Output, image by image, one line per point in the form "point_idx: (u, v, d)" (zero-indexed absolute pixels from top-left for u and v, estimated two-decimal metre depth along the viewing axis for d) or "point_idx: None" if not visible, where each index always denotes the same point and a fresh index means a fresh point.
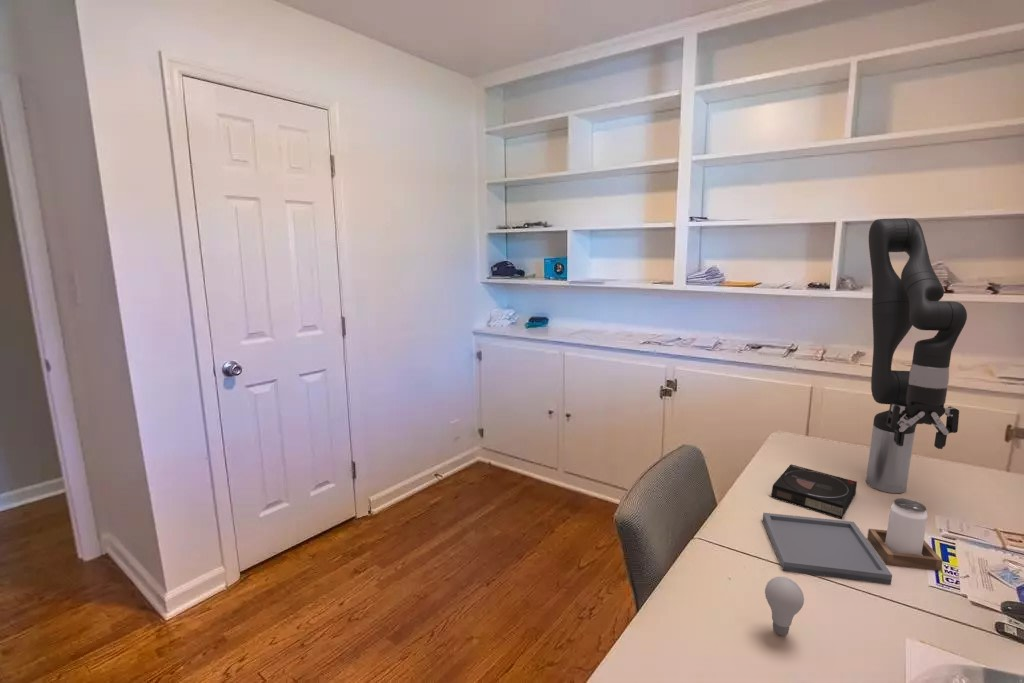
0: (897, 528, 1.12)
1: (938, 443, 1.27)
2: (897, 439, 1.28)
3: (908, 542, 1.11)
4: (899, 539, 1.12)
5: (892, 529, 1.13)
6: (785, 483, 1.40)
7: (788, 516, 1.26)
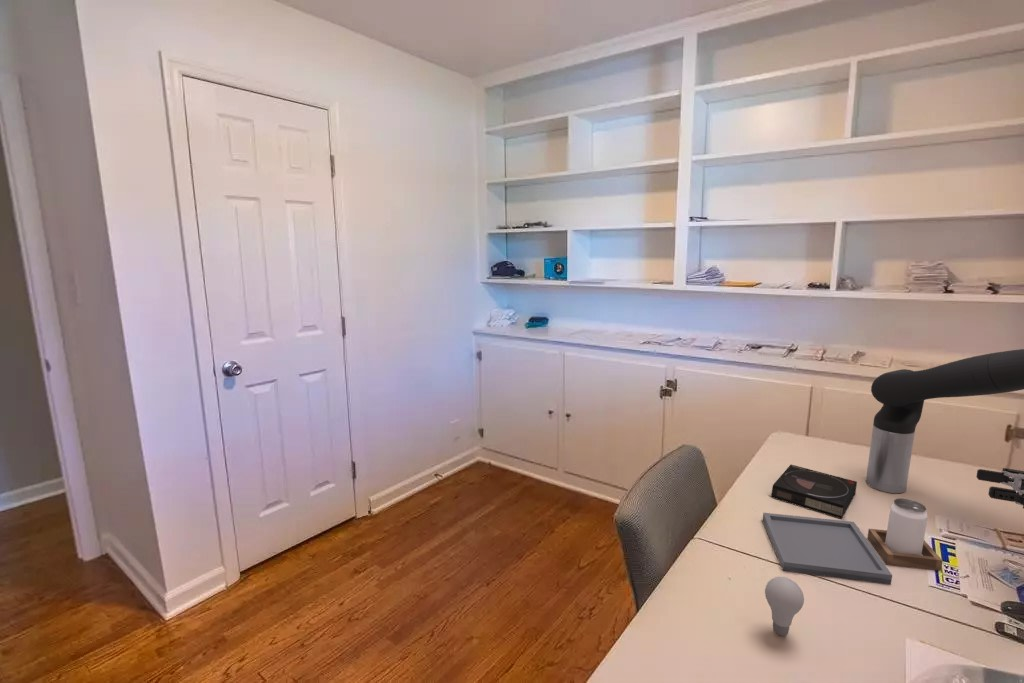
0: (897, 528, 1.12)
1: (985, 478, 1.08)
2: None
3: (908, 542, 1.11)
4: (899, 539, 1.12)
5: (892, 529, 1.13)
6: (785, 483, 1.40)
7: (788, 516, 1.26)
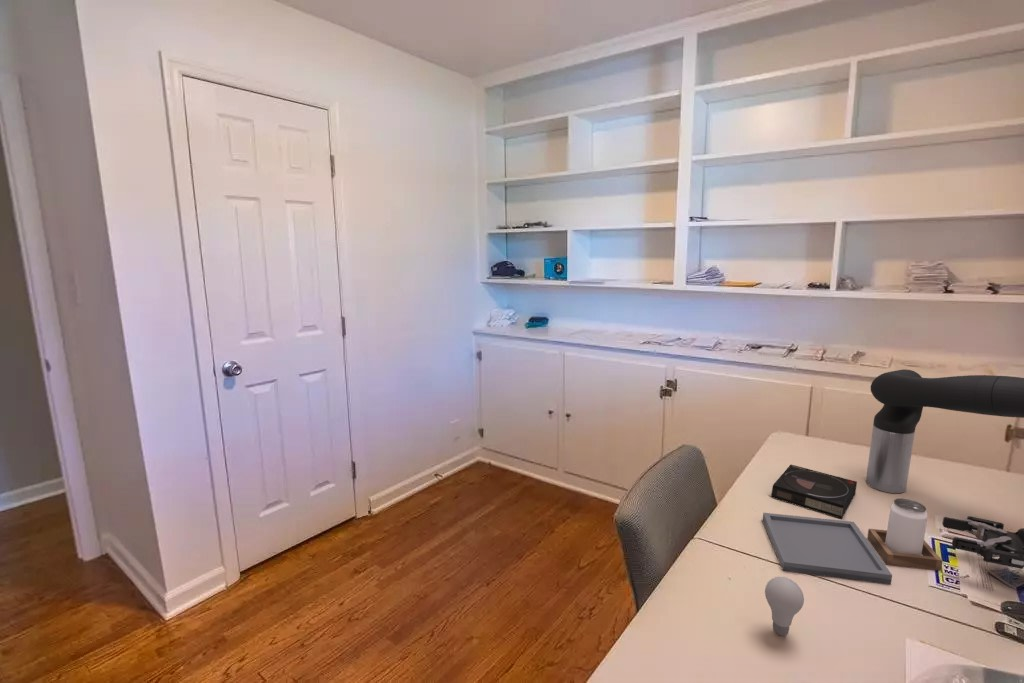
0: (897, 528, 1.12)
1: (950, 525, 1.13)
2: None
3: (908, 542, 1.11)
4: (899, 539, 1.12)
5: (892, 529, 1.13)
6: (785, 483, 1.40)
7: (788, 516, 1.26)
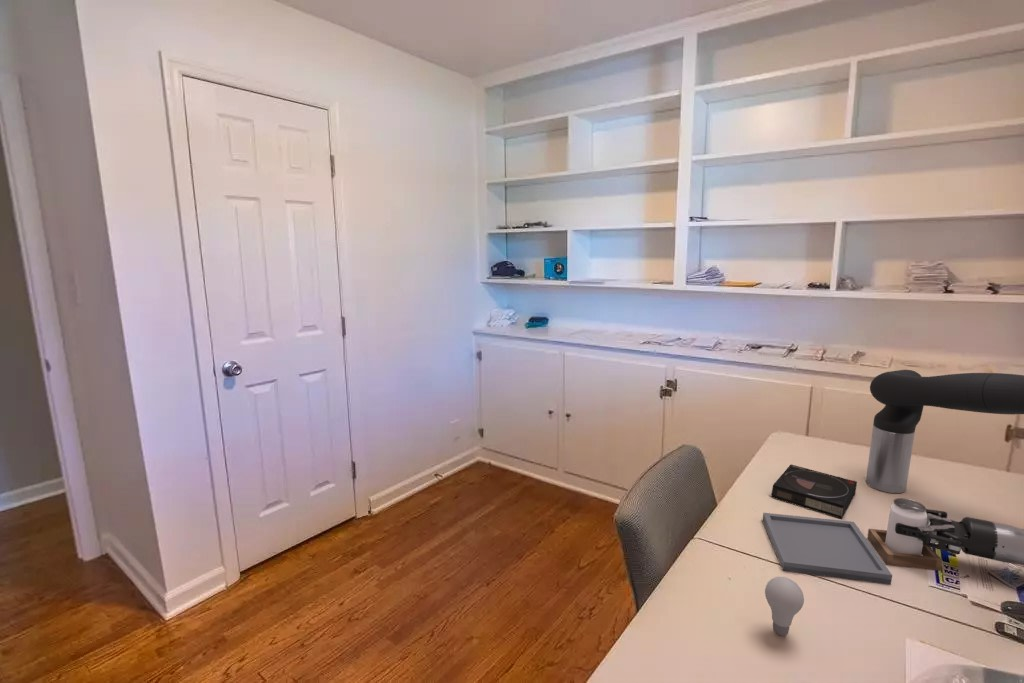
0: None
1: None
2: None
3: (908, 542, 1.11)
4: (899, 539, 1.12)
5: (892, 529, 1.13)
6: (785, 483, 1.40)
7: (788, 516, 1.26)
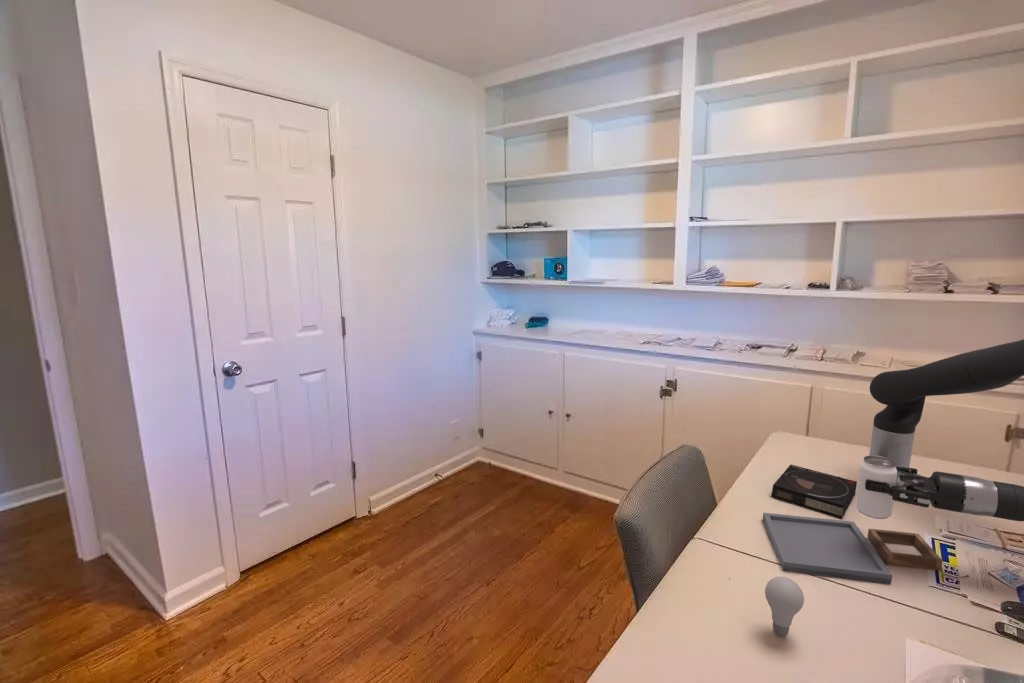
0: None
1: None
2: None
3: (878, 499, 1.09)
4: (869, 496, 1.10)
5: (862, 486, 1.12)
6: (785, 483, 1.40)
7: (788, 516, 1.26)
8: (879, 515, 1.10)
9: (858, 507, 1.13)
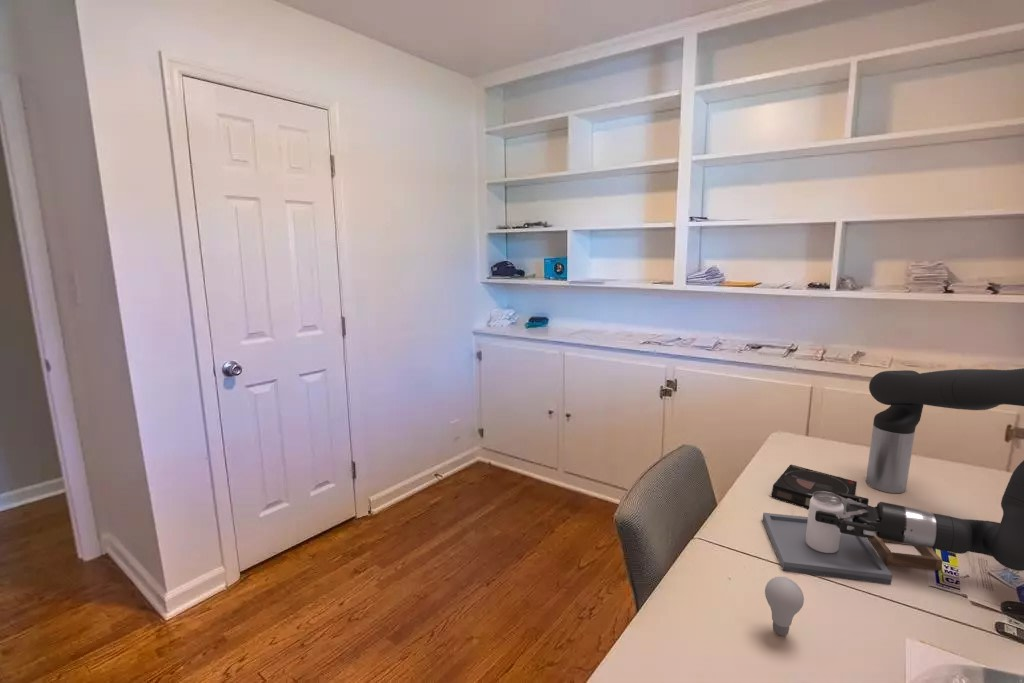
0: (814, 520, 1.14)
1: None
2: None
3: (824, 534, 1.12)
4: (816, 531, 1.13)
5: (810, 521, 1.15)
6: (785, 483, 1.40)
7: (788, 516, 1.26)
8: (825, 550, 1.13)
9: (807, 541, 1.16)
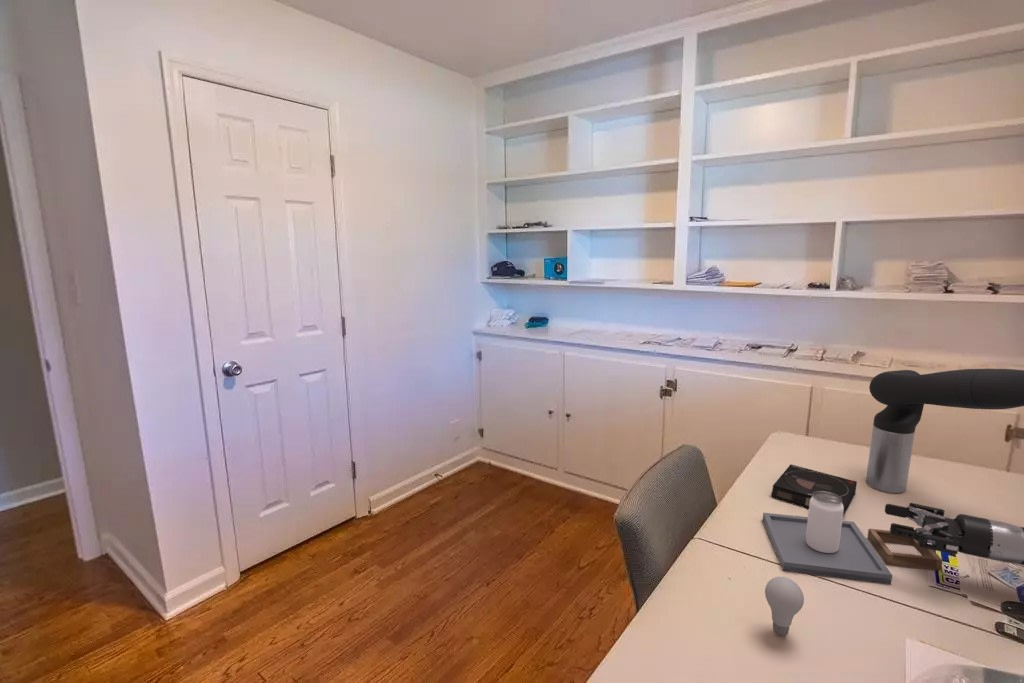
0: (814, 520, 1.14)
1: (892, 512, 1.12)
2: None
3: (824, 534, 1.12)
4: (816, 531, 1.13)
5: (810, 521, 1.15)
6: (785, 483, 1.40)
7: (788, 516, 1.26)
8: (825, 550, 1.13)
9: (807, 541, 1.16)
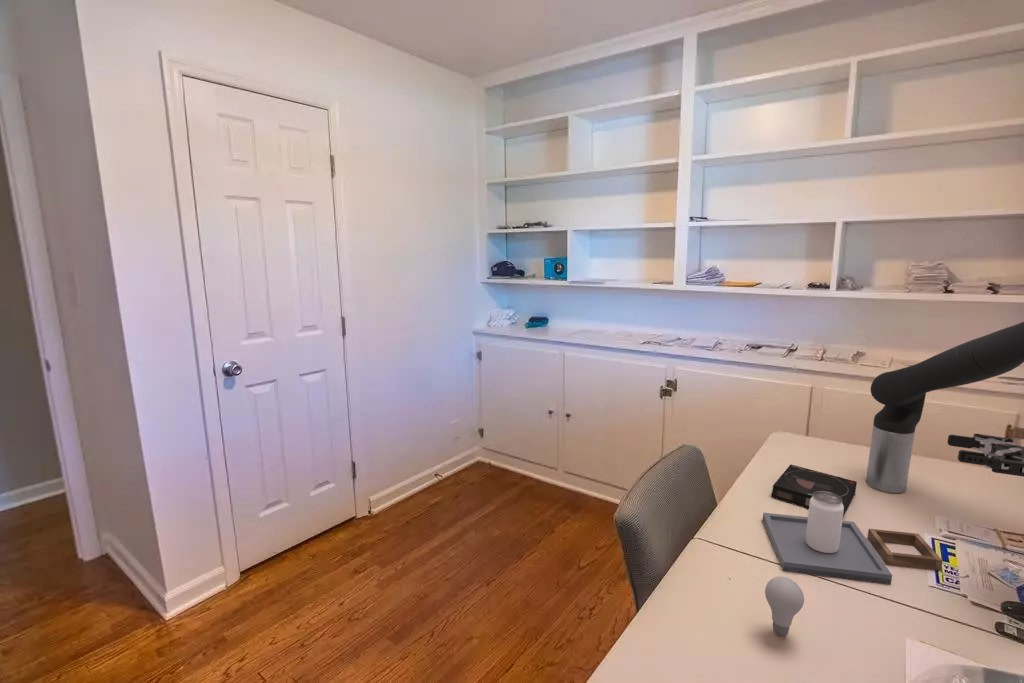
0: (814, 520, 1.14)
1: (956, 443, 1.06)
2: None
3: (824, 534, 1.12)
4: (816, 531, 1.13)
5: (810, 521, 1.15)
6: (785, 483, 1.40)
7: (788, 516, 1.26)
8: (825, 550, 1.13)
9: (807, 541, 1.16)
